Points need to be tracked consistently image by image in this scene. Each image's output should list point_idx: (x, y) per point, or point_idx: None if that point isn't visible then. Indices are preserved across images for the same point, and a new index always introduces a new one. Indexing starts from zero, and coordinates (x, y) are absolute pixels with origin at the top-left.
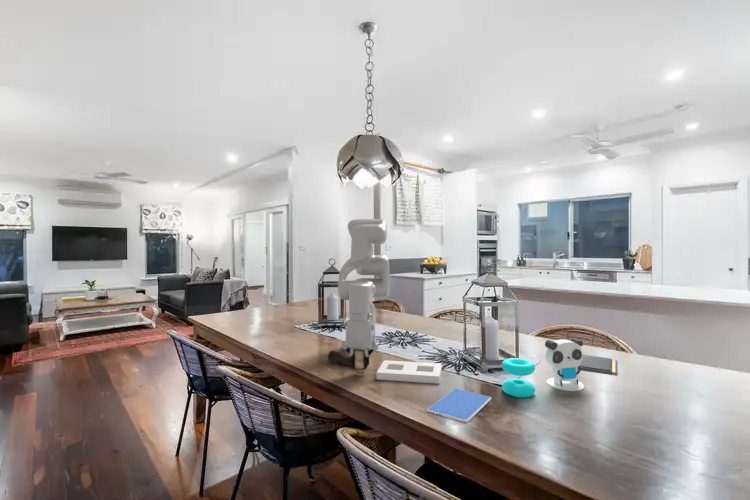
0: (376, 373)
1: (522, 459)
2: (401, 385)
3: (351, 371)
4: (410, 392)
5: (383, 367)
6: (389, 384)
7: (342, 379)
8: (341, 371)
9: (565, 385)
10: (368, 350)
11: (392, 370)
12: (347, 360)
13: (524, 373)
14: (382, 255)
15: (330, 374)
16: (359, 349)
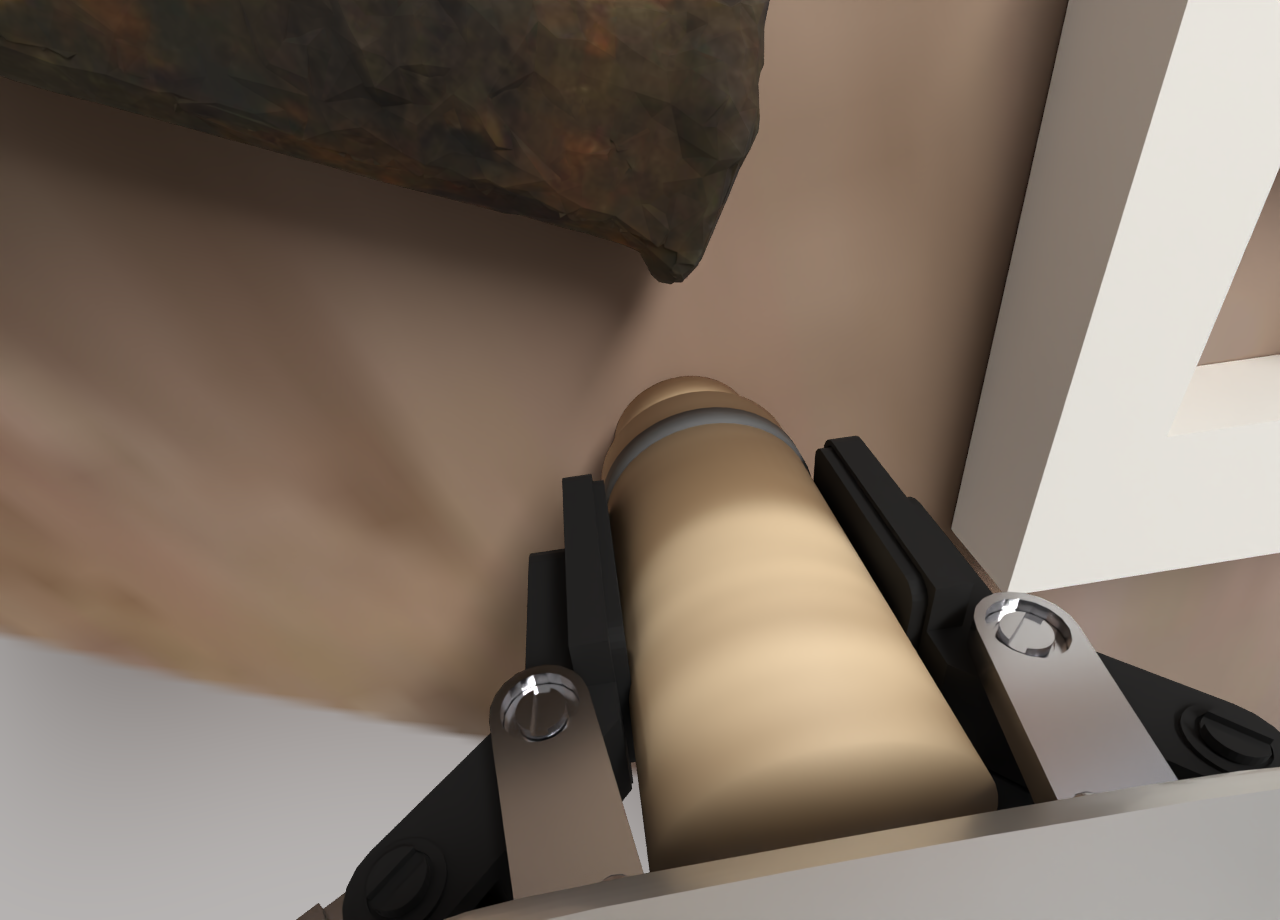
0: (997, 585)
1: None
2: (1225, 579)
3: (481, 363)
4: (1263, 674)
5: (1143, 371)
6: (1098, 597)
7: (522, 652)
8: (309, 418)
9: None
10: (1086, 737)
11: (1271, 458)
12: (135, 111)
13: None
14: None
15: (240, 576)
16: (799, 824)
